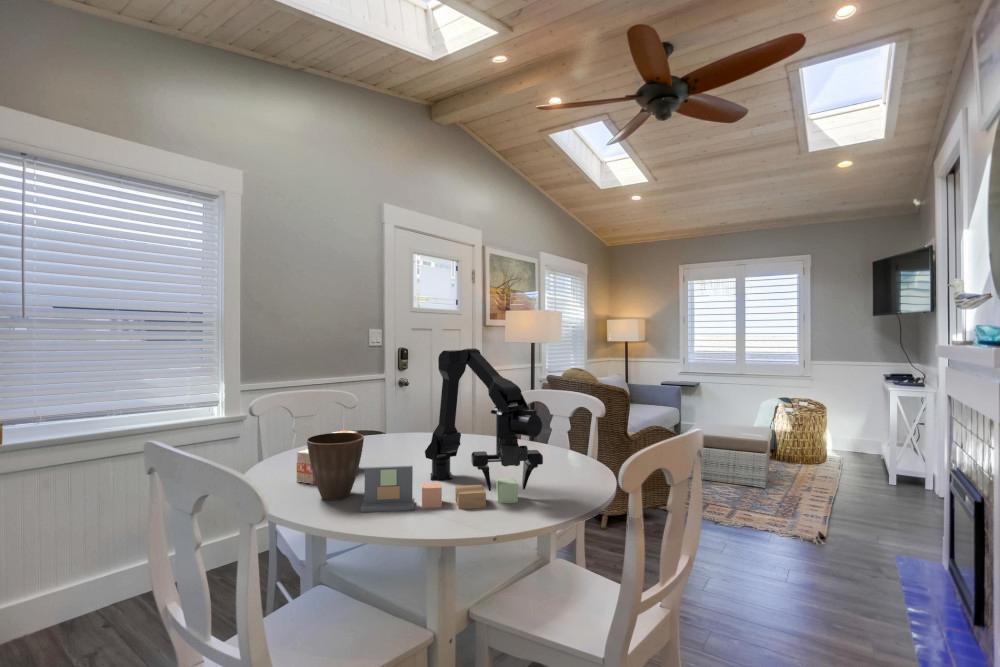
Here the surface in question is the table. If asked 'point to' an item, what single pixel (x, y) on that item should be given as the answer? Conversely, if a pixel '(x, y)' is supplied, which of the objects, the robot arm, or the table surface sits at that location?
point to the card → (388, 489)
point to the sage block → (507, 490)
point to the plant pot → (335, 462)
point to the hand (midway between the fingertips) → (506, 490)
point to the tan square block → (470, 496)
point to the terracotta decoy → (431, 494)
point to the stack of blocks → (307, 465)
